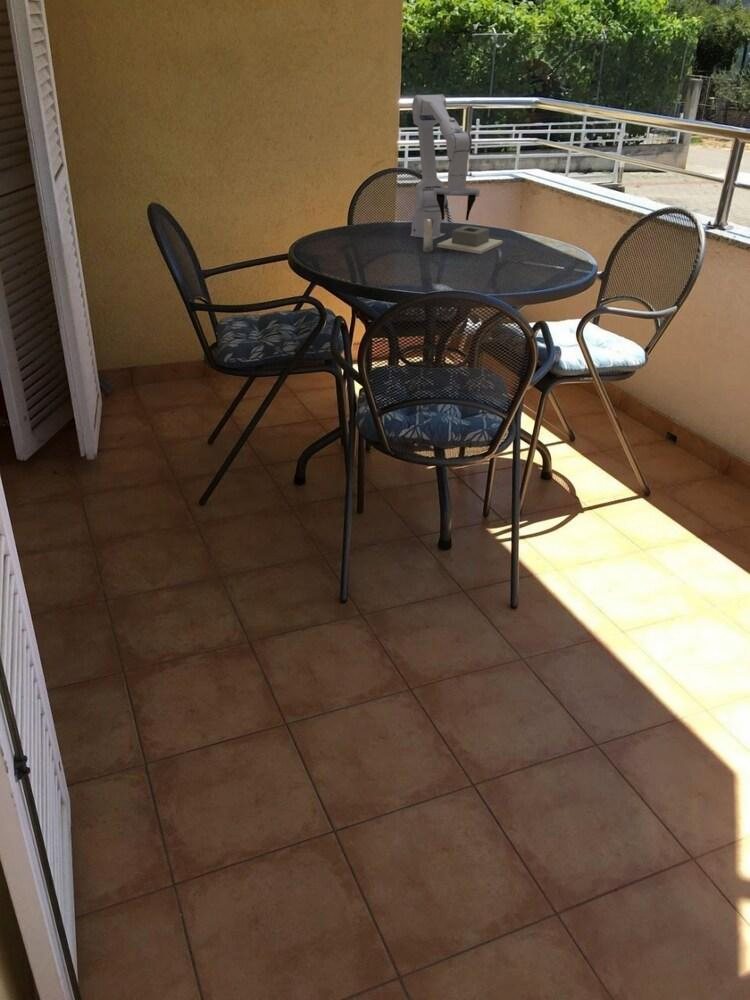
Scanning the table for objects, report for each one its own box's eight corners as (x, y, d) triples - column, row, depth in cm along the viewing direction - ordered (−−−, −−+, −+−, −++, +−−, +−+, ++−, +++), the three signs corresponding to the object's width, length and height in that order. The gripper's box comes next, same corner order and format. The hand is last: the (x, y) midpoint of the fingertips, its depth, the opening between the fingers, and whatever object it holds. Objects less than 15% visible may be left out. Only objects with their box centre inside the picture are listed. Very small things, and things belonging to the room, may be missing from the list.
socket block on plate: (437, 246, 273) (437, 231, 271) (460, 237, 285) (461, 222, 282) (480, 254, 266) (481, 238, 263) (502, 243, 277) (503, 228, 275)
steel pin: (421, 251, 269) (422, 219, 263) (426, 249, 271) (427, 217, 266) (429, 252, 267) (430, 220, 262) (434, 250, 269) (435, 218, 264)
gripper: (433, 176, 256) (431, 221, 263) (480, 177, 254) (477, 222, 261) (434, 172, 262) (432, 216, 269) (480, 173, 260) (477, 217, 267)
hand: (454, 219), depth 266 cm, fingers open, 7 cm apart
